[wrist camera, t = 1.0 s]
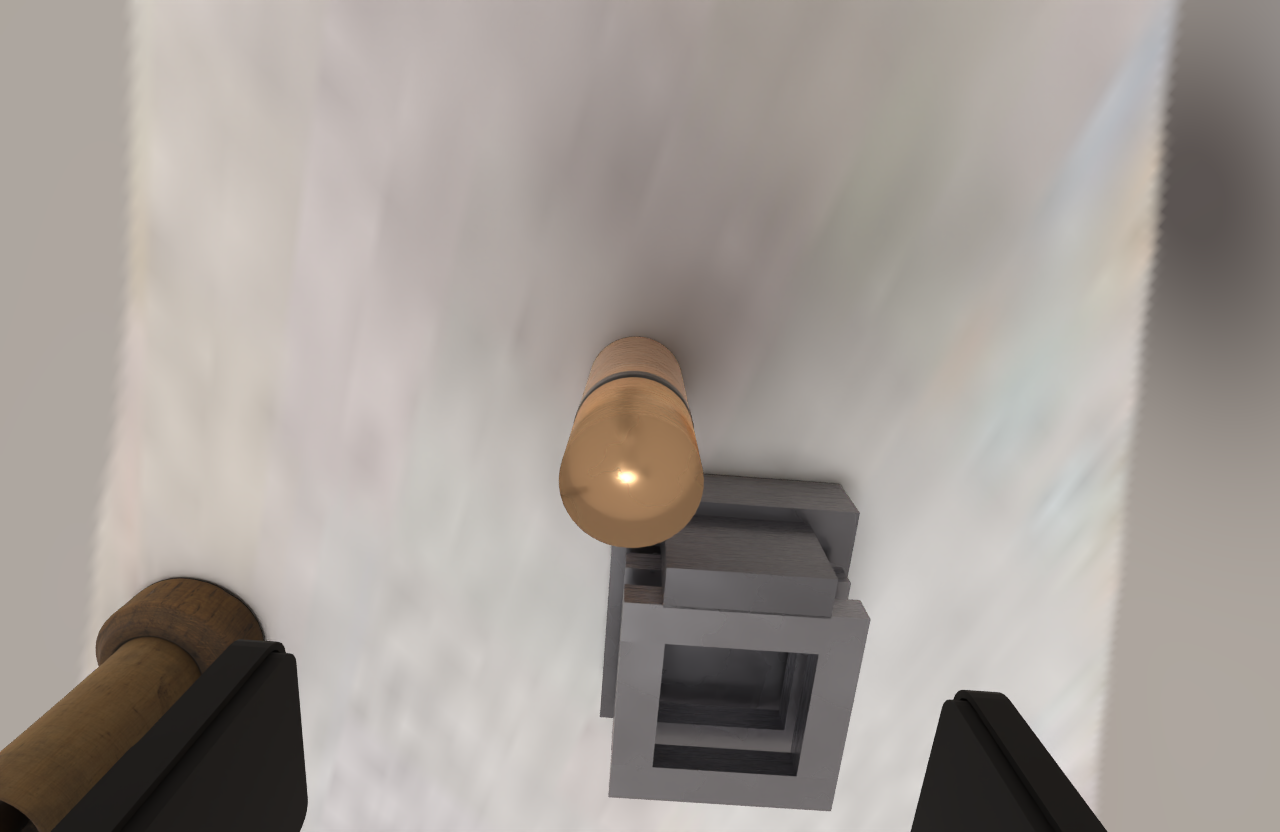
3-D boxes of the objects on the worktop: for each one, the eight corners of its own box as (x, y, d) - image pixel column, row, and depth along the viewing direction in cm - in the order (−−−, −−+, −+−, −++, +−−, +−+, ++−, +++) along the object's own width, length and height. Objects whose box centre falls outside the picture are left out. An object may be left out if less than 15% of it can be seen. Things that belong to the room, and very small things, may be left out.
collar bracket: (618, 467, 30) (610, 548, 23) (839, 483, 31) (898, 568, 23) (603, 673, 34) (593, 798, 27) (803, 686, 34) (845, 814, 27)
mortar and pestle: (109, 650, 33) (-455, 1122, 16) (158, 552, 32) (-411, 962, 15) (234, 711, 34) (-171, 1216, 17) (288, 620, 33) (-101, 1077, 16)
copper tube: (591, 332, 29) (561, 407, 18) (687, 339, 29) (712, 418, 18) (586, 423, 30) (555, 543, 19) (678, 430, 30) (697, 553, 19)
